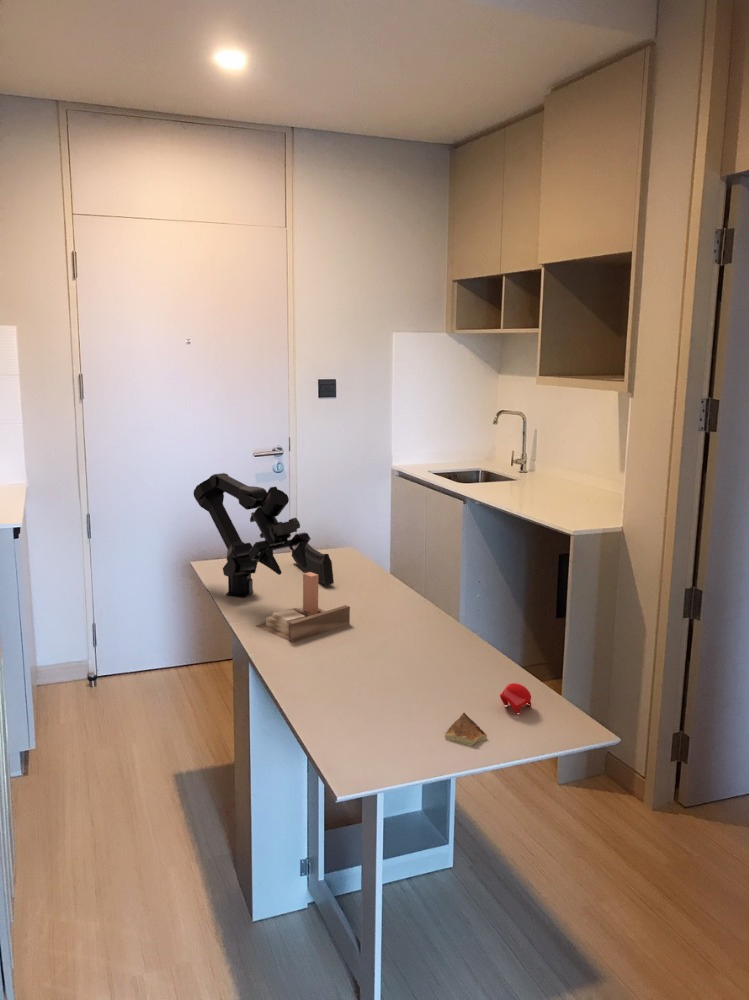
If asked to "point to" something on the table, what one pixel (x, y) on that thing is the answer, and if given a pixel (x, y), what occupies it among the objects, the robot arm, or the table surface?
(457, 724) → the shard
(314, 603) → the block
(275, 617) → the rack
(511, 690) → the red legged dome
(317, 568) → the magazine
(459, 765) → the table surface
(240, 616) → the table surface
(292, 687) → the table surface
